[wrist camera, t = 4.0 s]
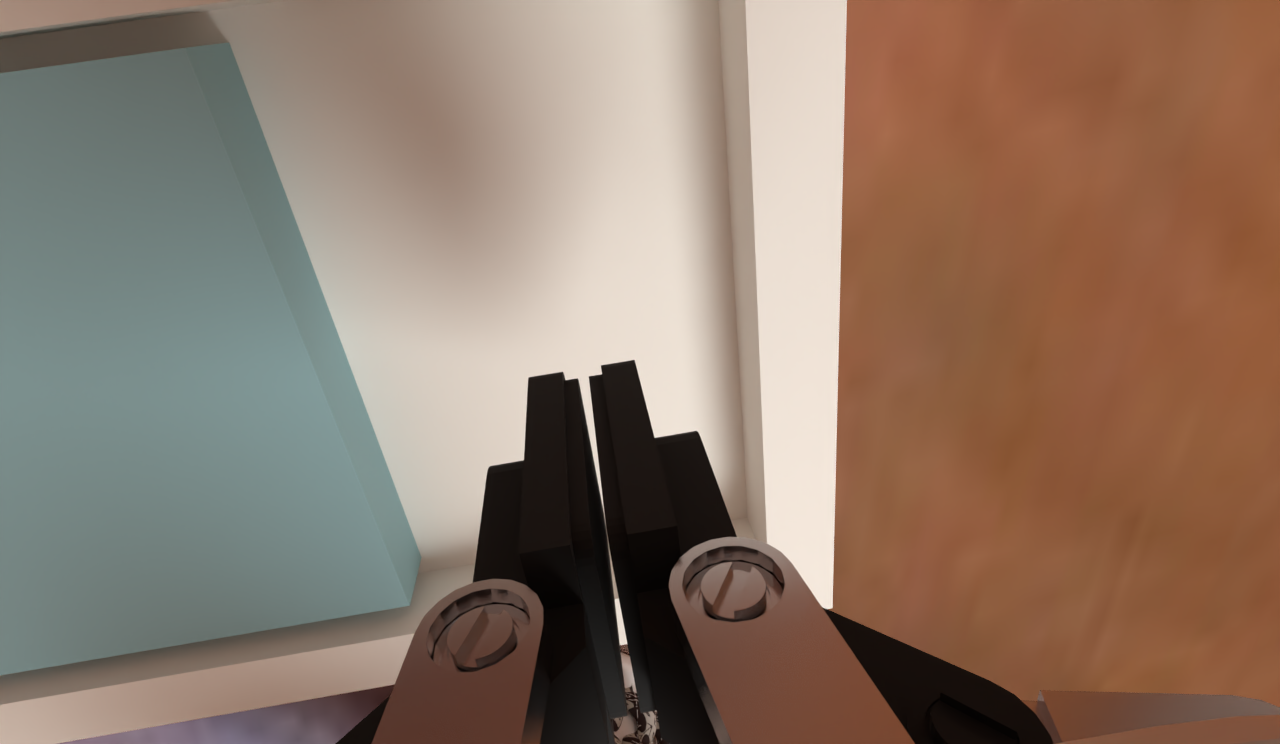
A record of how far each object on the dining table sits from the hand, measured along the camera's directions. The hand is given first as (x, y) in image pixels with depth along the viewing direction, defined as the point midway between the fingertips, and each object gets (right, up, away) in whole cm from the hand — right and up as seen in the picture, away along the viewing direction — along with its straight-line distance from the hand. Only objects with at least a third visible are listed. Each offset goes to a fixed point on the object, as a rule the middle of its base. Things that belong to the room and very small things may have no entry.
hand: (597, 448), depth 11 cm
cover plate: (-11, +1, +3) cm, 12 cm away
